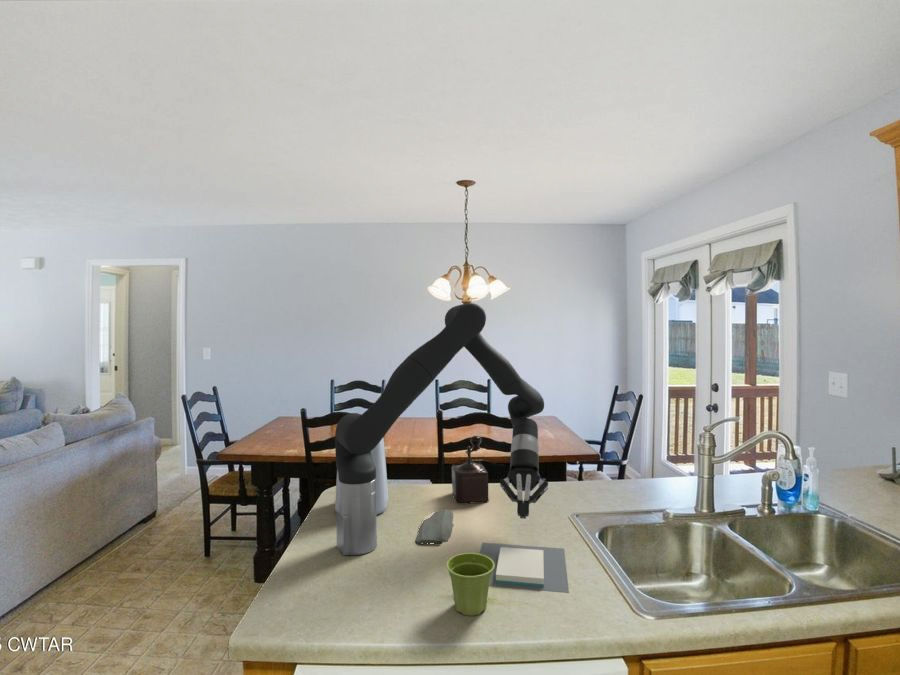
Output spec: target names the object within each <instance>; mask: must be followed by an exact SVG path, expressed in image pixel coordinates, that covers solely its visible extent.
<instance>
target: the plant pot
mask: <svg viewBox="0 0 900 675" xmlns="http://www.w3.org/2000/svg"><path fill="white" fill-rule="evenodd" d="M445 567H446V570H447V571H448V572H449V574H448V575H449V577H450V580H451V586H452V588H451V589H452V591H453V592H452V593H453V594H452V595H453V600H454V608H455V609H456V611H457V612H459V613H461V614H463V615H464V616H469V617H471V616H473V617H474V616H478V615H480V614H481V613H482V612H484V611H486V609H487V604H488V595H489V590H490V586H489V582H490V577H491V575H492V571H493V570H494V567H495V564H494V562H493V560H492V559H491V558H489V557H487V556H485V555H482V554H480V553H477V552H466V553H464V552H463V553H459V554H455V555H453V556H451V557H450V558H449V559H448V560H447V562H446V565H445Z"/></svg>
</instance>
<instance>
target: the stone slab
mask: <svg viewBox="0 0 900 675" xmlns="http://www.w3.org/2000/svg"><path fill="white" fill-rule="evenodd" d="M436 511H437V510H436ZM436 511H434V512H435V513H434V514H433V515H432V516H431V517H430V518H428V519H426V520H424V521H423V520H422V521H423V523H422V522H421V524H420V525H421V526H420V525H419V526H420V528H419V527H418V529H419V531H418V530H417V531H418V532H419V533H418V532H417V533H418V534H417V535H416V537H415V538H416V539H415V542H416V543H417V544H418V543H423V544H422V545H431V544H430V543H434V544H433V545H435V544H441V545H442V544H443V542H444V543H445V542H446V543H447V542H449V540H450V538H451V536H452V533H453V528H454V526H455V525H454V523H453V521H454V520H453V519H454V512H453V511H452V510H450V509H446V508H444V509H440V510H438V511H437V512H436ZM427 543H428V544H427Z"/></svg>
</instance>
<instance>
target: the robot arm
mask: <svg viewBox="0 0 900 675" xmlns="http://www.w3.org/2000/svg"><path fill="white" fill-rule="evenodd" d="M486 321H487V314H486V312H485V310H484V308H483V307H482V306H480V305H479V304H478V303H473V302H466V303H462V304H459V305H455V306H453V307H451V308H449V309H448V310H447V312H446V313H445V315H444V325H445V326H444V328H443V329H442V330H441V331H439V332H438V334H436V335H435V336H433V338H431V339H430V340H428V341H427V342H425V343H423V344H422V345H420V346H419V347H417V349H415V350H414V351H413V352H411V353H410V354H409V355H408V356H407V357H406V358H405V359H404V360H403V361H402V362H401V363H400V364H399V365H398V366H397V367H396V368H395V370H394V371H393V372H392V374H391V376H390V377H389V379H388V381H387V383H386V385H385V387H384V389H383V392H382V393H381V394H380V395H379V397H378V398H377V399H376V400H375V402H374V403H372V405H371V406H369V408H367V410H366V411H364V412H363V413H362V414H361V413H358V412H351V413H347V414H345V415H344V416H342V417H341V418H340V419H339V421H337V424H336V427H335V431H334V449H335V450H334V451H335V452H334V453H335V466H336V471H337V470H338V476H339V508H338V509H337V510H336V511H335V512H336V513H335V514H336V516H335V517H336V547H337V549H339V551H340V552H341V553H342V555H343V556H349V555H352V556H357V555H364V554H368V553H371V552H372V551H373V550H375V549H376V548H377V546H378V541H377V540H378V534H377V532H378V531H377V530H378V529H377V527H378V526H377V525H378V524H377V523H378V522H377V521H378V520H377V518H378V517H377V515H376V467H375V465H374V463H373V460H372V456H371V451H372V450H373V449H374V448H375V447H376V446H377V445H378V444H379V442H380V441H381V440H382V438H383V437H384V438H385V436H386V434H387V433H388V431H389V430H391V428H392V427H393V425H394V424H395V422H396V421H397V420H398V419H399V417H401V415H402V414H403V413H404V412H405V411H406V410H407V409H408V408H409V407H410V406H411V405H412V404H413V403H414V401H415V400H417V398H419V396H420V395H422V394H423V392H424V391H425V390H426V389H428V387H429V386H430V385H431V383H433V382H434V381H435V379H436V378H437V377H438V375H440V373H441V372H443V370H444V369H445V368H446V367H447V366H448V365H449V363H450V362H451V361H452V360H453V358H455V356H456V355H457V354H458V353H459V352H460V351H461V350H462V349H463V348H465V349H466V350H467V352H469V353H470V355H472V356H473V358H474V359H475V360H476V361H477V363H478V364H479V365H480V367H482V368H483V370H484V371H485V372H486V373H487V375H488V376H489V378H490V379H491V380H492V381H493V383H494V384H495V385H496V387H497V388H498V389H499V391H500V393H502V394H503V395H505V396H512V395H515V396H513V397H512V398H510V400H509V401H508V404H507V411H508V414H509V417H510V421H511V427H512V437H511V438H512V439H511V444H510V460H509V461H510V462H509V464H510V465H509V471H508V473H507V477H505V478H501V479H500V480H499V485H500V487H501V489H502V490H503V491H504V493H505V494H506V495H507V497H508V498H509V500H510V501H511V502H513V503H514V502H515V503H516V504H517V506H516V509H517V511H516V513H517V517H519V518H520V519H522V520H523V519H527V517H529V515H530V504H532V503H533V504H536V502H538V500H539V499H540V498H541V497H542V496H543V495H544V494H545V493H546V491H548V489H549V482H548V481H547V480H545V481H544V480H543V479H542V476H541V475H540V472H539V468H540V466H539V461H540V459H539V458H540V451H539V437H538V436H539V431H538V430H539V426H538V424H537V422H536V421H535V420H533V419H532V418H530V417H533V416H535V415H538V414H540V413H542V412H543V411H544V408H545V401H544V398H543V397H542V394H541V393H540V392H539V391H538V390H537V389H536V388H534V387H533V386H532V385H530V384H529V383H528V382H527V381H525V380H524V379H523V378H522V377H521V376H520V375H519V373H518V372H517V370H516V368H514V366H513V365H512V364H511V363H510V361H509V360H508V359H507V358H506V356H504V355H503V354H502V353H501V352H499V351H498V350H497V349H496V348H495V347H493V346H492V345H491V344H490V343H489V342H488V341H487V340H486V339H485V338H484V336H483V335H482V331H483V329H484V327H485V325H486V323H487V322H486ZM510 484H511V486H512V487H513V488H514V489H515V490H516V493H517V494H516V493H515V492H514V491H513V489H512V488H511V487H510ZM537 485H538V487H537ZM536 487H537V489H536V490H535V491H534V492H533V493H532V494H531V491H533V490H534V489H535V488H536ZM523 492H524V496H523ZM523 497H524V499H523Z"/></svg>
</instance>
